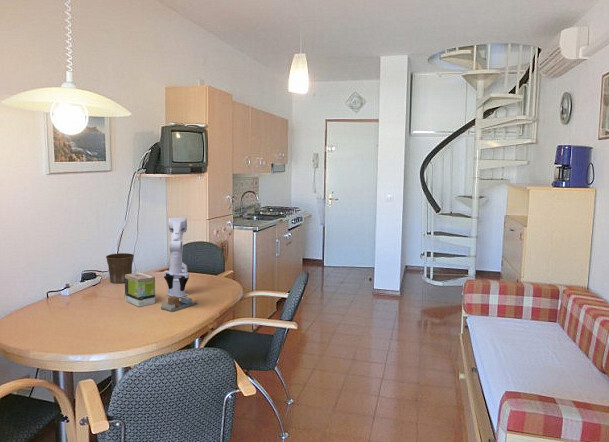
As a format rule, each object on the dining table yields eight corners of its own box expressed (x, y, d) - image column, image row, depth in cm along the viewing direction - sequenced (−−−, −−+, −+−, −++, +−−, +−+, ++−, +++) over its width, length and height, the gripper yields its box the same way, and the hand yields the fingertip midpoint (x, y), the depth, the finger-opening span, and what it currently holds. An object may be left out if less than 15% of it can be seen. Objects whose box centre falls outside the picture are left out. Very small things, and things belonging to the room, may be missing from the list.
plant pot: (128, 285, 286) (128, 258, 284) (102, 284, 286) (101, 258, 284) (138, 278, 302) (137, 253, 300) (113, 277, 302) (112, 252, 300)
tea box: (156, 303, 251) (155, 276, 249) (138, 307, 244) (137, 279, 242) (141, 297, 261) (141, 271, 259) (124, 301, 254) (123, 274, 252)
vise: (161, 309, 242) (161, 302, 241) (186, 301, 256) (186, 295, 255) (171, 312, 237) (171, 305, 237) (197, 304, 252) (197, 297, 251)
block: (167, 307, 243) (167, 297, 242) (174, 305, 246) (174, 295, 246) (173, 308, 241) (173, 299, 240) (179, 306, 244) (179, 297, 243)
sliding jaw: (180, 302, 251) (180, 296, 251) (184, 301, 253) (184, 295, 253) (188, 304, 248) (188, 298, 247) (192, 303, 250) (192, 297, 250)
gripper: (159, 263, 242) (160, 289, 243) (182, 267, 236) (182, 293, 237) (169, 261, 248) (169, 286, 250) (191, 264, 242) (191, 290, 244)
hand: (176, 289), depth 244 cm, fingers open, 7 cm apart
